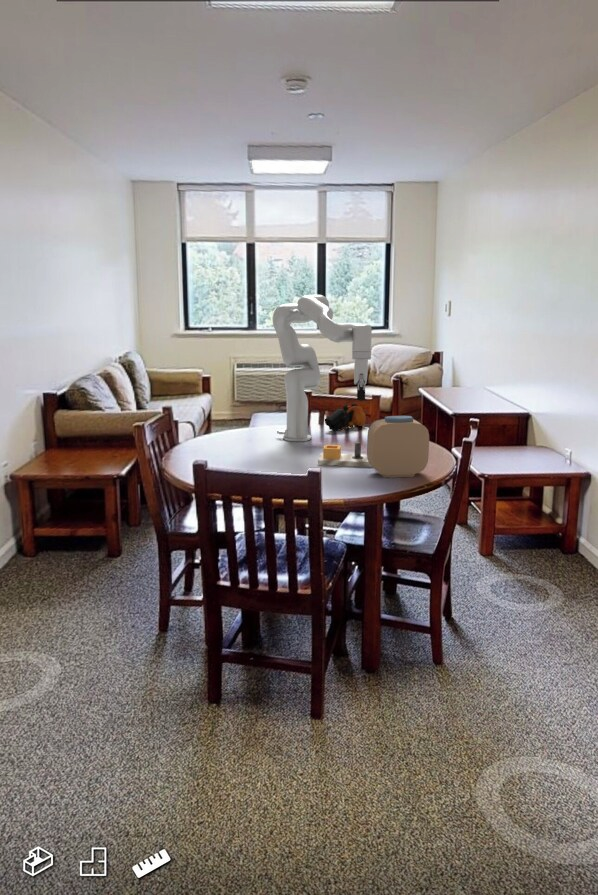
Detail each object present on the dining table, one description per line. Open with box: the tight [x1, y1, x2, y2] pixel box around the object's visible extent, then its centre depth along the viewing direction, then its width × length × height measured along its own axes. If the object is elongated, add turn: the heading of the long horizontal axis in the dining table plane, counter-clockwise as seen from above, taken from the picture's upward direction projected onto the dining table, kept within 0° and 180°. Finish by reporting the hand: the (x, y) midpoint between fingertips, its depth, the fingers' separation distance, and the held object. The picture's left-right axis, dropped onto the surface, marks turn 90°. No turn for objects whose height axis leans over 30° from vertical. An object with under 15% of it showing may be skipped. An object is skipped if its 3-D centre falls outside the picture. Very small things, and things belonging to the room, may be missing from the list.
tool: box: [324, 403, 367, 432], centre depth 331 cm, size 8×23×15 cm, turn 132°
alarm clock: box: [366, 415, 430, 478], centre depth 250 cm, size 21×10×22 cm, turn 98°
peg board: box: [317, 441, 373, 468], centre depth 268 cm, size 22×12×8 cm, turn 83°
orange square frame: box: [322, 444, 342, 459], centre depth 269 cm, size 6×6×4 cm
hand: (361, 398), depth 278 cm, fingers open, 9 cm apart
